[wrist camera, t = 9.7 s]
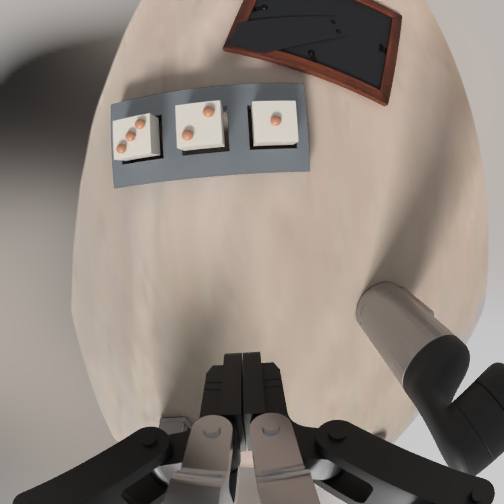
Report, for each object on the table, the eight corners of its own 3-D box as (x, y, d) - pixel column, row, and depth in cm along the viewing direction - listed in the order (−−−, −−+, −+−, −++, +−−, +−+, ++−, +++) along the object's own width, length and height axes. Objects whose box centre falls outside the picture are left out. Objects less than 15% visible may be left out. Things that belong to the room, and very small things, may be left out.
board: (299, 89, 34) (303, 83, 31) (305, 171, 37) (310, 171, 34) (119, 108, 34) (110, 104, 31) (122, 187, 37) (114, 188, 34)
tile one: (289, 108, 33) (296, 99, 28) (292, 145, 34) (299, 141, 30) (251, 109, 33) (252, 100, 28) (253, 146, 34) (254, 142, 30)
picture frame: (223, 52, 33) (382, 106, 35) (223, 47, 31) (388, 104, 33) (261, -31, 28) (397, 19, 30) (261, -37, 26) (402, 15, 28)
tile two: (222, 108, 31) (219, 99, 27) (225, 147, 33) (222, 142, 28) (183, 113, 31) (174, 104, 27) (184, 151, 33) (176, 147, 28)
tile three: (159, 119, 33) (148, 112, 28) (161, 155, 34) (150, 153, 29) (125, 125, 32) (111, 120, 28) (127, 160, 34) (112, 159, 29)
